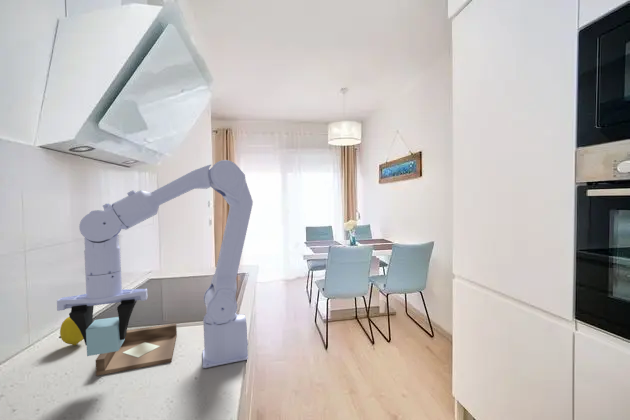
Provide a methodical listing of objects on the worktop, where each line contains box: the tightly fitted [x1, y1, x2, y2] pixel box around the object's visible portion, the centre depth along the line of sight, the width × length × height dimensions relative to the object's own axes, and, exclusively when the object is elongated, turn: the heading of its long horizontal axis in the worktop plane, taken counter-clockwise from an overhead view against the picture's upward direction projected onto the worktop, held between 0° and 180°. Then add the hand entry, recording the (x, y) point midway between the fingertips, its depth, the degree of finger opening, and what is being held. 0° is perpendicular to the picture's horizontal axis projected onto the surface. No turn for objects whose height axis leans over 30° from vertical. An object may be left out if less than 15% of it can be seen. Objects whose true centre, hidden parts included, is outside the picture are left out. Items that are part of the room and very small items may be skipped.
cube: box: [86, 316, 125, 357], centre depth 59 cm, size 5×5×5 cm
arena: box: [95, 323, 178, 377], centre depth 70 cm, size 14×14×3 cm
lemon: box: [59, 316, 84, 346], centre depth 75 cm, size 6×6×8 cm
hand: (106, 340), depth 59 cm, fingers closed on cube, 5 cm apart
